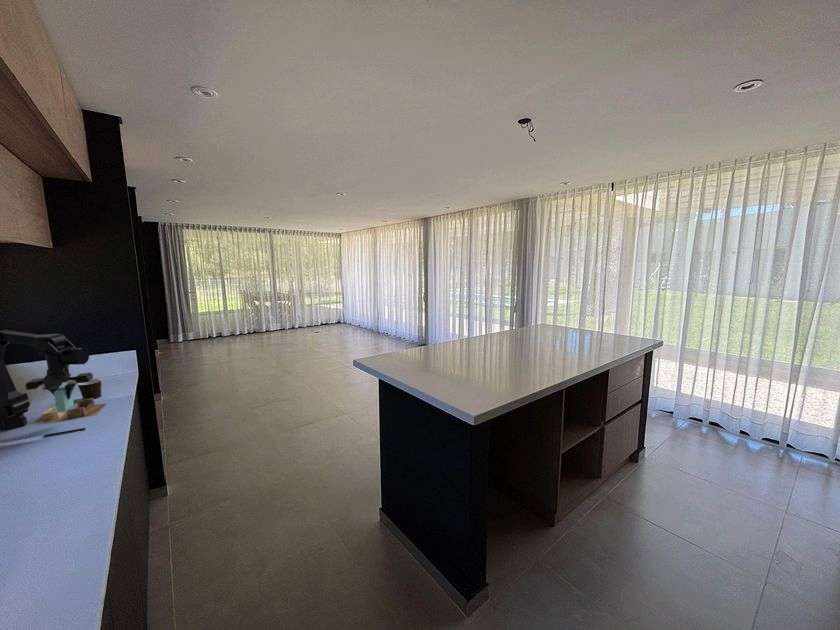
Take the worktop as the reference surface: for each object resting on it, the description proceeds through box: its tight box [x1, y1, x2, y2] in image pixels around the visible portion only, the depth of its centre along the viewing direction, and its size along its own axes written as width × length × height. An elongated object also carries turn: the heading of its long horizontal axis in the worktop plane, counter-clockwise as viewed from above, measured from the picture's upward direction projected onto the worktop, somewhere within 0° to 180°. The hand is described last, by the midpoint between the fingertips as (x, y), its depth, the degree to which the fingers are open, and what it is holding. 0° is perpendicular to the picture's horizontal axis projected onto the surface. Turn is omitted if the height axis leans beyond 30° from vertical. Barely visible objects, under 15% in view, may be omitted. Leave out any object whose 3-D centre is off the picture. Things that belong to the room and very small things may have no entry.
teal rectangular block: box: [53, 384, 75, 412], centre depth 141 cm, size 2×8×9 cm, turn 29°
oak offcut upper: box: [41, 406, 61, 418], centre depth 150 cm, size 5×7×2 cm
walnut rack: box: [34, 398, 108, 426], centre depth 153 cm, size 20×14×6 cm
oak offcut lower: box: [42, 411, 66, 421], centre depth 150 cm, size 5×7×2 cm
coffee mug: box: [77, 378, 102, 400], centre depth 169 cm, size 12×9×10 cm
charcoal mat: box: [42, 427, 86, 439], centre depth 143 cm, size 12×11×1 cm
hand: (64, 399), depth 141 cm, fingers closed on teal rectangular block, 2 cm apart
